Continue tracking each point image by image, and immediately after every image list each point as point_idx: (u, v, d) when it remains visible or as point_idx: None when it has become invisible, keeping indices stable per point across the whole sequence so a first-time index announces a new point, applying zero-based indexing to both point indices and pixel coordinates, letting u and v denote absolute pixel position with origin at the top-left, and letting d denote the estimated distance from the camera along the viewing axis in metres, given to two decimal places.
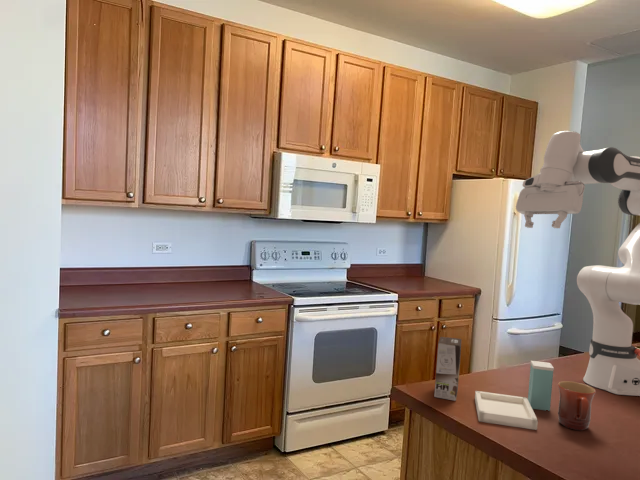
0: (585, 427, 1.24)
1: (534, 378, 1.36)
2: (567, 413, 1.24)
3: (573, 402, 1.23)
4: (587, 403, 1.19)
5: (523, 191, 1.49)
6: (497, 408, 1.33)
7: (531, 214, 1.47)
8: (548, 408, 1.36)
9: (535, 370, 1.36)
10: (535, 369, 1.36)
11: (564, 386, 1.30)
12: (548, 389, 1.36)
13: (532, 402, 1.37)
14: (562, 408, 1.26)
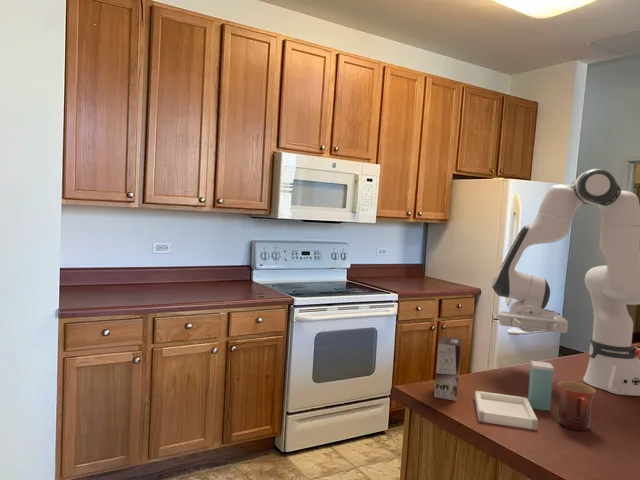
0: (585, 427, 1.24)
1: (534, 378, 1.36)
2: (567, 413, 1.24)
3: (573, 402, 1.23)
4: (587, 403, 1.19)
5: None
6: (497, 408, 1.33)
7: (552, 325, 1.52)
8: (548, 408, 1.36)
9: (535, 370, 1.36)
10: (535, 369, 1.36)
11: (564, 386, 1.30)
12: (548, 389, 1.36)
13: (532, 402, 1.37)
14: (562, 408, 1.26)
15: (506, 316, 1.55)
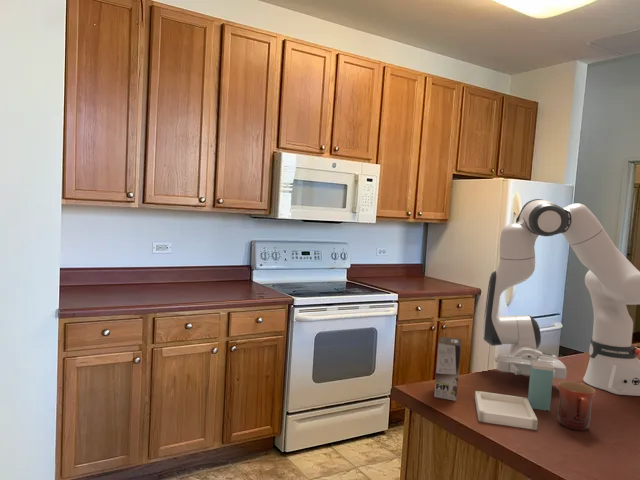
0: (585, 427, 1.24)
1: (534, 378, 1.36)
2: (567, 413, 1.24)
3: (573, 402, 1.23)
4: (587, 403, 1.19)
5: None
6: (497, 408, 1.33)
7: None
8: (548, 408, 1.36)
9: (535, 370, 1.36)
10: (535, 369, 1.36)
11: (564, 386, 1.30)
12: (548, 389, 1.36)
13: (532, 402, 1.37)
14: (562, 408, 1.26)
15: (503, 361, 1.53)
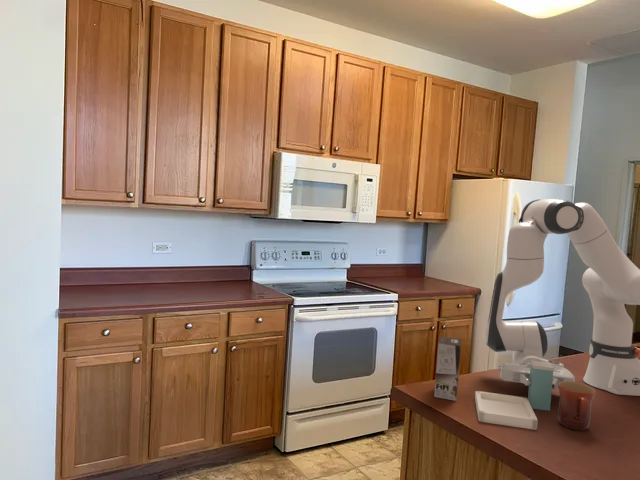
0: (585, 427, 1.24)
1: (534, 378, 1.36)
2: (567, 413, 1.24)
3: (573, 402, 1.23)
4: (587, 403, 1.19)
5: None
6: (497, 408, 1.33)
7: None
8: (548, 408, 1.36)
9: (535, 370, 1.36)
10: (535, 369, 1.36)
11: (564, 386, 1.30)
12: (548, 389, 1.36)
13: (532, 402, 1.37)
14: (562, 408, 1.26)
15: (508, 371, 1.44)
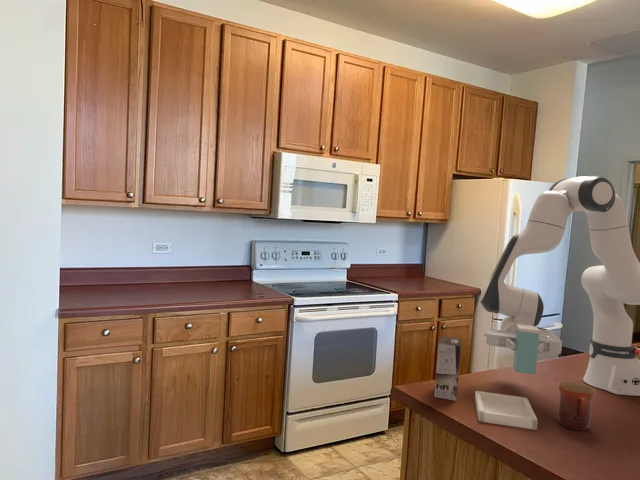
0: (585, 427, 1.24)
1: (519, 341, 1.33)
2: (567, 413, 1.24)
3: (573, 402, 1.23)
4: (587, 403, 1.19)
5: None
6: (497, 408, 1.33)
7: (538, 345, 1.37)
8: (533, 372, 1.32)
9: (520, 333, 1.33)
10: (520, 332, 1.33)
11: (564, 386, 1.30)
12: (533, 352, 1.32)
13: (517, 366, 1.33)
14: (562, 408, 1.26)
15: (493, 335, 1.41)
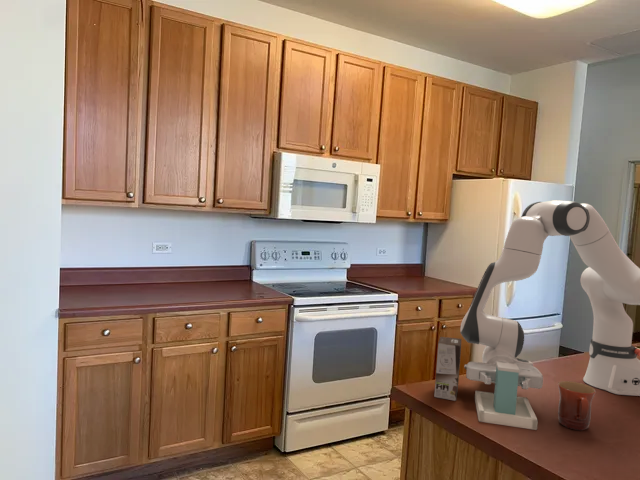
0: (585, 427, 1.24)
1: (499, 380, 1.30)
2: (567, 413, 1.24)
3: (573, 402, 1.23)
4: (587, 403, 1.19)
5: None
6: None
7: (524, 380, 1.34)
8: (513, 412, 1.29)
9: (500, 372, 1.30)
10: (500, 371, 1.30)
11: (564, 386, 1.30)
12: (513, 392, 1.29)
13: (497, 405, 1.30)
14: (562, 408, 1.26)
15: (473, 369, 1.37)
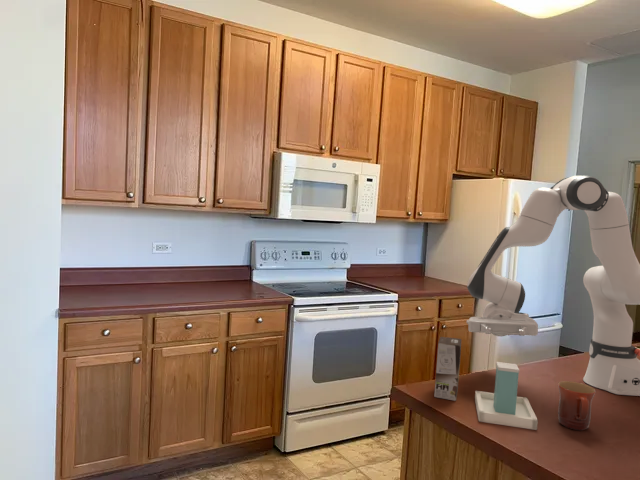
0: (585, 427, 1.24)
1: (499, 380, 1.30)
2: (567, 413, 1.24)
3: (573, 402, 1.23)
4: (587, 403, 1.19)
5: None
6: None
7: (521, 328, 1.47)
8: (513, 412, 1.29)
9: (500, 372, 1.30)
10: (500, 371, 1.30)
11: (564, 386, 1.30)
12: (513, 392, 1.29)
13: (497, 405, 1.30)
14: (562, 408, 1.26)
15: (474, 322, 1.51)
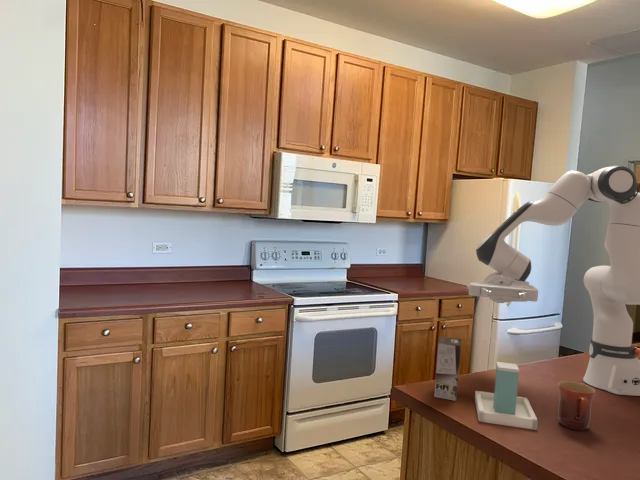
0: (585, 427, 1.24)
1: (499, 380, 1.30)
2: (567, 413, 1.24)
3: (573, 402, 1.23)
4: (587, 403, 1.19)
5: None
6: None
7: None
8: (513, 412, 1.29)
9: (500, 372, 1.30)
10: (500, 371, 1.30)
11: (564, 386, 1.30)
12: (513, 392, 1.29)
13: (497, 405, 1.30)
14: (562, 408, 1.26)
15: (475, 286, 1.52)
